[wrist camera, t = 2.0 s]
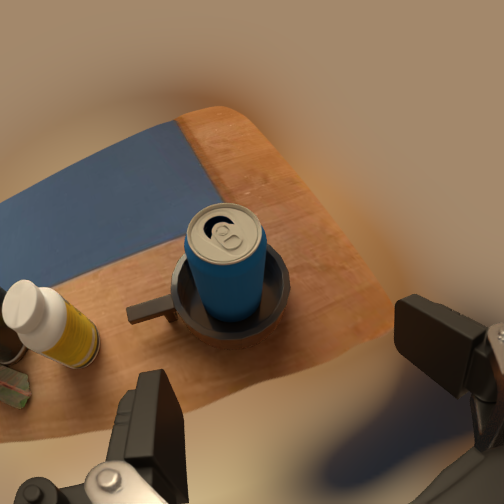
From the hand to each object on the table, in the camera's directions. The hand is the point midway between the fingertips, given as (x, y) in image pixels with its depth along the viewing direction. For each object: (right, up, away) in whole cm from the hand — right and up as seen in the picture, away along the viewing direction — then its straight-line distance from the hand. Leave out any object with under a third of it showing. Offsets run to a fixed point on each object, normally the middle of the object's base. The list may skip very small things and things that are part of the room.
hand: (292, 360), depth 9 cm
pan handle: (-11, -4, +22) cm, 25 cm away
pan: (-4, -2, +23) cm, 24 cm away
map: (-38, -13, +14) cm, 42 cm away
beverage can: (-4, -2, +23) cm, 24 cm away
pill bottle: (-21, -7, +20) cm, 30 cm away
